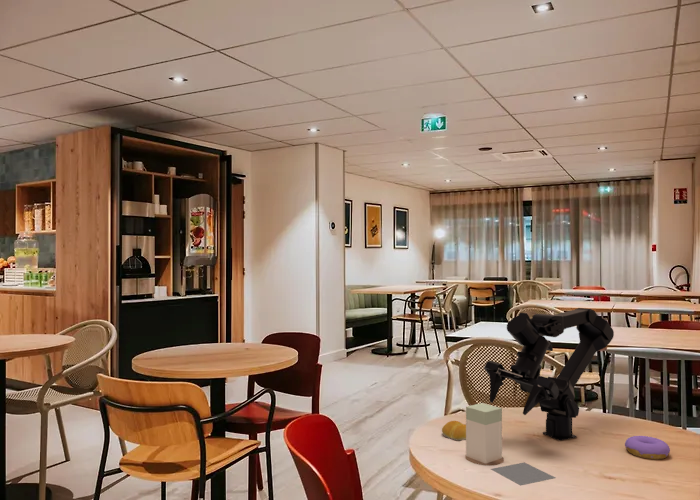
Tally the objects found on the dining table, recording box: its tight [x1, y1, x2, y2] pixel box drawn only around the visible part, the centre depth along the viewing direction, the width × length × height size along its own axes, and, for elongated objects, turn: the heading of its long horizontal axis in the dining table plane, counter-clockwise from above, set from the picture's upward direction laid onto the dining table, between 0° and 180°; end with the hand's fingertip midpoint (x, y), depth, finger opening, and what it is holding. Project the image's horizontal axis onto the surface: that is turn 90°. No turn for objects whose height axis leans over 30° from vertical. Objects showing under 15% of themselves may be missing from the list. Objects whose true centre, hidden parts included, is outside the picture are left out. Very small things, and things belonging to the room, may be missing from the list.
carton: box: [465, 402, 503, 464], centre depth 134 cm, size 6×6×12 cm
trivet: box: [465, 455, 505, 466], centre depth 134 cm, size 9×9×1 cm
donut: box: [624, 435, 671, 460], centre depth 139 cm, size 10×9×5 cm
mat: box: [490, 461, 557, 486], centre depth 125 cm, size 10×10×1 cm
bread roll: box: [441, 420, 466, 442], centre depth 152 cm, size 8×9×4 cm
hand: (507, 408), depth 139 cm, fingers open, 9 cm apart
